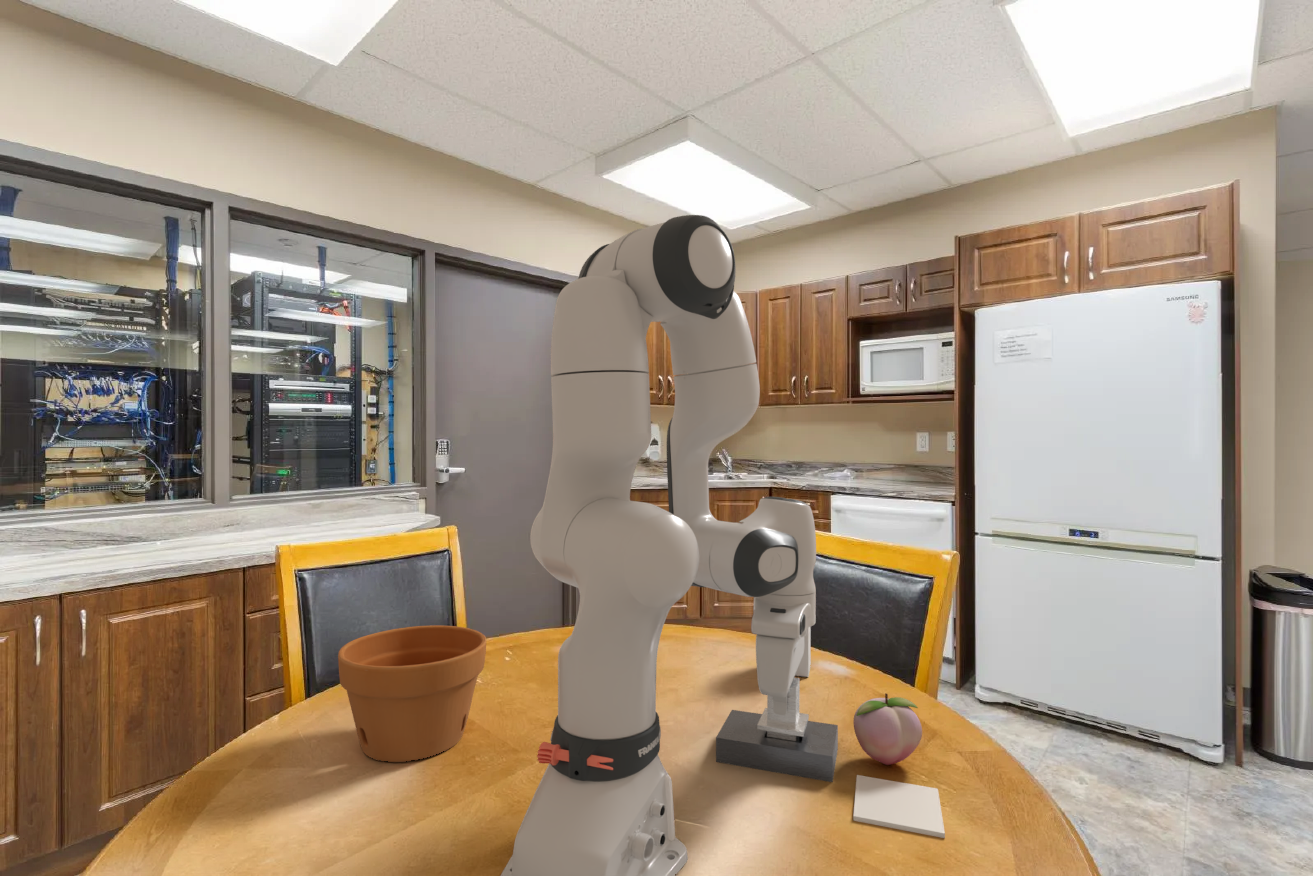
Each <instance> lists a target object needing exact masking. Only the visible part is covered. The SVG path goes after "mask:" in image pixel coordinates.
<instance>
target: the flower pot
mask: <svg viewBox="0 0 1313 876" xmlns="http://www.w3.org/2000/svg"><path fill="white" fill-rule="evenodd" d="M486 651H487V637H486V635H485V634H483V633H482V632H480V631H478V630H477V629H472V628H469V627H464V626H454V625H443V624H442V625H437V624H436V625H435V624H434V625H418V626H417V625H414V626H406V627H399V628H392V629H388V630H383V631H378V632H375V633H371V634H368V635H364V636H360V637H358V638H355V639H353V640H351V641H348V642H347V643H345V644H344V645H343V646H342V647H340V649H339V650H338V652H337V653H338V655H337V660H338V661H337V662H338V676H339V684H340V686H341V688H343V689H344V690H345V691H346V694H347V696H348V702H349V705H350V708H351V714H352V718H353V722H354V726H355V730H356V733H357V737H358V741H359V744H360V748H361V750H362V753H363V754H364V755H366V756H367V755H368V756H369V757H368V756H367V757H368V758H370V757H371V758H370V759H372V758H373V759H372V760H375V759H376V761H379V760H381V761H380V762H384V761H388V762H387V763H404V762H406V761H407V762H412V761H411V760H415V761H419V760H418V759H420V760H424V759H428V758H430V756H431V757H434V756H436V754H437V755H439V753H440V754H442V753H443V751H444V752H445V751H448V750H450V749H451V748H454V746H455V745H457V743H458V742H459V741H460V740H461V739H462V738H463V735H464V733H465V729H466V726H467V722H468V719H469V715H470V710H471V705H472V700H473V697H474V693H475V688H476V684H477V680H478V677H479V675H480V674H481V673H482V671H483V670H484V668H485V663H486V654H487V652H486ZM449 748H450V749H449ZM441 752H442V753H441ZM433 755H434V756H433ZM427 757H428V758H427ZM423 758H424V759H423Z"/></svg>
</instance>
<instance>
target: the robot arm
mask: <svg viewBox="0 0 1313 876" xmlns="http://www.w3.org/2000/svg"><path fill="white" fill-rule="evenodd" d="M733 248H734V247H733V245H732V243H731V241H730V239H729V237H728V235H727V234H726V232H725V231H724V230H723V229H722V228H721V226H720V225H719V224H718V223H717V222H716V221H714V219H712V218H711V217H708V216H706V215H702V214H701V215H700V214H687V215H681V216H680V215H679V216H675V217H671V218H669V219H668V220H666V221H665V222H661V223H656V224H652V225H651V226H650V225H649V226H647V227H645V228H637V229H635V230H632V231H631V232H628V233H626V234H625V235H623V236H621V237H619V238H617V239H615V240H613V241H611V243H607V244H603V245H602V246H600V247H598V248H597V249H596V250H595V251H594V252H592V253H591V254H590V255H589V257H588V258H587V259H586V260H585V262H584V263H583V264H582V267H581V269H580V272H579V274H578V278H577V279H575V280H573V281H571V282H569V283H568V284H566V285H565V286H564V287H563V288H562V289H561V291H560V292H559V294H558V296H557V297H556V298H557V299H556V302H555V309H554V314H553V315H554V316H553V320H552V321H553V322H552V331H551V341H550V342H551V343H550V376H551V377H550V380H551V382H550V383H551V386H550V387H551V407H552V408H551V409H552V410H551V411H552V412H551V413H552V415H551V416H552V453H551V460H550V467H549V472H548V473H549V474H548V480H547V485H546V489H545V490H546V491H545V494H544V500H543V503H542V504H543V505H542V507H541V508H540V510H539V512H538V513H537V514H536V517H535V518H534V520H533V523H532V524H531V525H532V526H531V529H530V534H529V535H530V537H529V538H530V539H529V540H530V542H529V543H530V547H531V550H532V553H533V555H534V557H535V559H536V560H537V561H538V563H540V565H541V566H542V567H543V569H545V570H546V571H547V572H548V573H549V574H550V575H551V576H552V577H554V578H555V579H556V580H558V581H559V582H561V583H564V584H566V585H569V586H572V587H575V588H577V589H578V592H579V606H578V611H577V616H576V620H575V622H574V623H575V624H574V626H573V629H572V632H571V635H569V636H568V637H567V638H566V639H565V640H564V641H563V643H562V644H561V646H560V648H559V651H558V654H557V655H558V656H557V682H558V683H557V715H556V716H555V719H554V722H553V729H552V731H551V735H550V740H549V741H550V742H547V741H542V742H541V744H540V745H539V747H538V751H537V755H536V757H537V761H538V763H540V764H548V765H547V768H546V769H545V771H544V773H543V775H542V777H541V780H540V782H539V784H538V786H537V788H536V790H535V792H534V794H533V797H532V799H531V801H530V803H529V806H528V808H527V810H526V813H525V814H524V817H523V819H522V822H521V824H520V827H519V829H518V831H517V833H516V836H515V839H514V845H513V850H512V855H511V857H510V858H509V860H508V862H507V863H506V865H505V867H504V868H503V870H502V872H501V874H500V876H676V875H677V874H678V873H679V872H680V871H681V869H682V868H683V867H684V866H685V864H686V863H687V862H688V858H689V857H688V849H687V847H686V845H685V844H684V843H683V842H682V841H681V840H679V838H677V836H676V829H675V811H674V809H675V808H674V798H673V797H674V796H673V795H674V794H673V782H672V778H671V776H670V775H669V772H668V771H667V770H666V768H665V767H664V765H663V762H662V761H661V758H660V756H659V753H660V751H661V750H660V749H661V736H662V735H661V734H662V733H661V728H662V727H661V725H660V716H659V714H658V712H657V711H656V707H657V705H656V704H657V702H656V701H657V662H658V661H657V659H658V651H659V644H660V640H661V635H662V632H663V628H664V625H665V622H666V619H667V617H668V614H669V613H670V610H671V609H672V607H673V606H674V605H675V604H676V603H677V602H678V601H680V599H682V598H683V597H684V596H685V595H686V594H687V592H688V591H689V589H690V588H691V587H697V588H708V589H712V590H715V591H720V592H724V593H728V594H734V595H739V596H743V597H748V598H753V614H752V618H751V628H750V629H751V634H753V635H756V637H755V658H756V675H757V684H758V689H759V691H760V693H761V694H762V695H765V696H767V695H768V696H772V697H773V711H774V713H775V714H779V715H785V714H786V712H787V709H788V699H787V694H788V691H789V688H790V686H791V684H792V681H793V679H794V678H795V677H796V676H795V674H796V671H797V669H798V666H799V664H800V661H801V659H802V656H803V654H804V636H805V635H806V632H807V629H808V627H810V628H812V626H815V624H816V621H817V620H816V619H817V618H816V612H817V611H816V609H817V606H816V605H817V603H816V602H817V600H816V599H817V598H816V597H817V594H816V592H817V591H816V584H815V580H814V569H815V565H816V562H817V537H816V536H817V535H816V534H817V533H816V526H815V518H814V514H813V510H812V507H811V506H810V505H809V504H807V503H806V502H805V501H801V500H798V499H794V498H786V497H779V496H765V497H762V498H760V499H759V501H758V505H757V507H756V509H755V510H754V511H753V512H751V513H750V514H749V515H747V517H745V518H743V519H741V520H739V521H738V522H731V521H725V520H724V521H723V520H718V519H717V518H715V517H714V515H713V514H712V512H711V510H710V488H709V486H710V485H709V461H710V456H711V454H712V452H713V450H715V448H716V446H717V445H719V444H720V443H722V442H723V441H725V440H726V439H729V438H730V437H731V436H734V435H735V434H737V433H738V432H740V431H741V430H742V429H743V428H744V427H746V426H747V424H748V423H749V422H750V421H751V420H752V418H753V416H754V415H755V413H756V411H757V409H758V407H759V403H760V396H761V395H760V394H761V393H760V391H761V389H760V387H761V386H760V378H759V372H758V364H757V357H756V352H755V346H754V342H753V337H752V333H751V329H750V325H749V322H748V318H747V315H746V312H745V310H744V306H743V303H742V300H741V298H740V296H739V295H738V294H737V293H738V292H736V291H735V282H736V273H737V272H736V267H737V266H736V257H735V251H734V249H733ZM653 322H654V323H659V322H660V324H659V325H660V326H661V327H662V329H663V330H664V332H665V334H666V335H667V337H668V340H669V347H670V349H669V350H670V359H671V360H670V361H671V368H672V376H673V383H674V407H673V415H672V417H671V419H669V420H670V421H669V423H668V426H667V430H666V431H667V432H666V470H667V471H666V473H667V474H666V475H667V498H668V510H666V509H664V508H662V507H660V506H658V505H655V504H653V503H650V502H643V501H636V500H631V497H630V496H631V488H632V482H633V478H634V475H635V474H634V473H635V471H636V467H637V465H638V463H639V461H640V459H641V457H643V455H644V454H645V453H646V451H647V450H648V448H649V446H650V444H651V441H652V421H651V420H652V419H651V417H652V416H651V415H652V414H651V392H650V388H651V387H650V370H649V369H650V367H649V353H648V345H647V339H646V338H647V333H648V330H649V328H650V325H651V323H653ZM675 874H676V875H675Z"/></svg>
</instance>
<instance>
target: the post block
mask: <svg viewBox="0 0 1313 876" xmlns="http://www.w3.org/2000/svg"><path fill="white" fill-rule="evenodd" d="M762 714H763V713H757V712H751V711H743V710H736V709H731V710H730V712H729V714H728V716H727V718H726V719H725V722H723V725H722V726H721V728H720V730H719V732H718V733H717V735H716V737H715V762H716V763H720V764H727V765H733V766H736V767H737V766H739V767H742V768H743V767H744V768H748V769H755V770H759V771H766V772H772V773H777V774H783V775H788V776H794V777H800V778H806V779H812V780H816V781H817V780H818V781H822V782H829V783H833V782H834V776H835V771H836V770H835V769H836V763H837V756H838V750H839V748H838V747H839V743H838V742H839V740H838V739H839V733H838V732H839V730H838V729H839V727H838V724H834V723H833V724H832V723H826V722H825V723H824V722H819V721H811V720H808V722H807V726H806V729H805V733H804V736H803V737H802V736H799V743H797V742H791V741H785V740H778V739H772V738H767V731H765V730H759V729H757V724H758V722H759V720H760V718H761V716H762Z"/></svg>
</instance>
